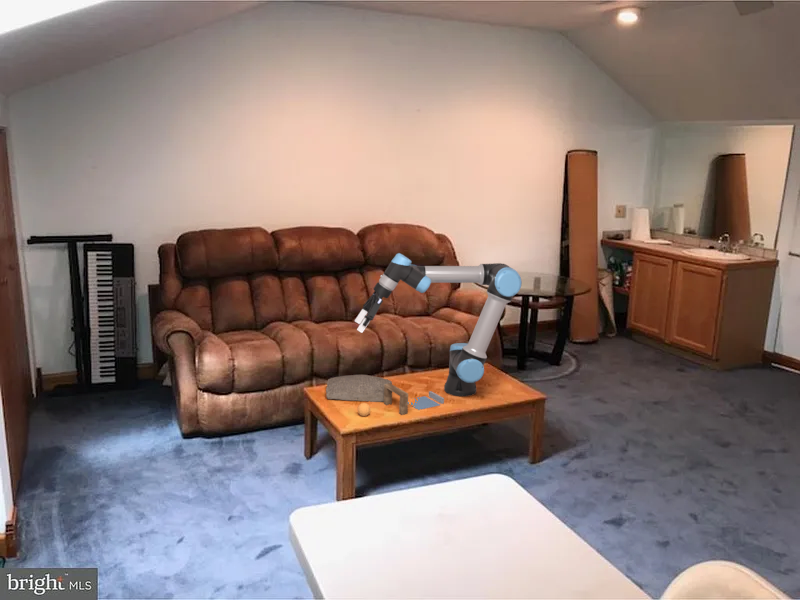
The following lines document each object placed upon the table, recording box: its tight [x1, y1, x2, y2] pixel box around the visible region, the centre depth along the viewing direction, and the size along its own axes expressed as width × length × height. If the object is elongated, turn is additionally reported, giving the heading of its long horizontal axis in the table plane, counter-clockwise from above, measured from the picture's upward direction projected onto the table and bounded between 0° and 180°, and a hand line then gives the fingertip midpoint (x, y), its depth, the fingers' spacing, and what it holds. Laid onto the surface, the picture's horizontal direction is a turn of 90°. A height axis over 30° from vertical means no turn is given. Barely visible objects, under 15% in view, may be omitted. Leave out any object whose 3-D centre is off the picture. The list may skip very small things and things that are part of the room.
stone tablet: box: [325, 374, 393, 403], centre depth 312 cm, size 20×8×30 cm
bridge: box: [383, 383, 409, 416], centre depth 296 cm, size 3×14×9 cm, turn 33°
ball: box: [357, 402, 371, 417], centre depth 288 cm, size 6×6×6 cm
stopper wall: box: [428, 390, 445, 405], centre depth 309 cm, size 1×10×2 cm, turn 33°
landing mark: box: [408, 395, 441, 411], centre depth 305 cm, size 12×12×1 cm
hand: (358, 326), depth 294 cm, fingers open, 13 cm apart
